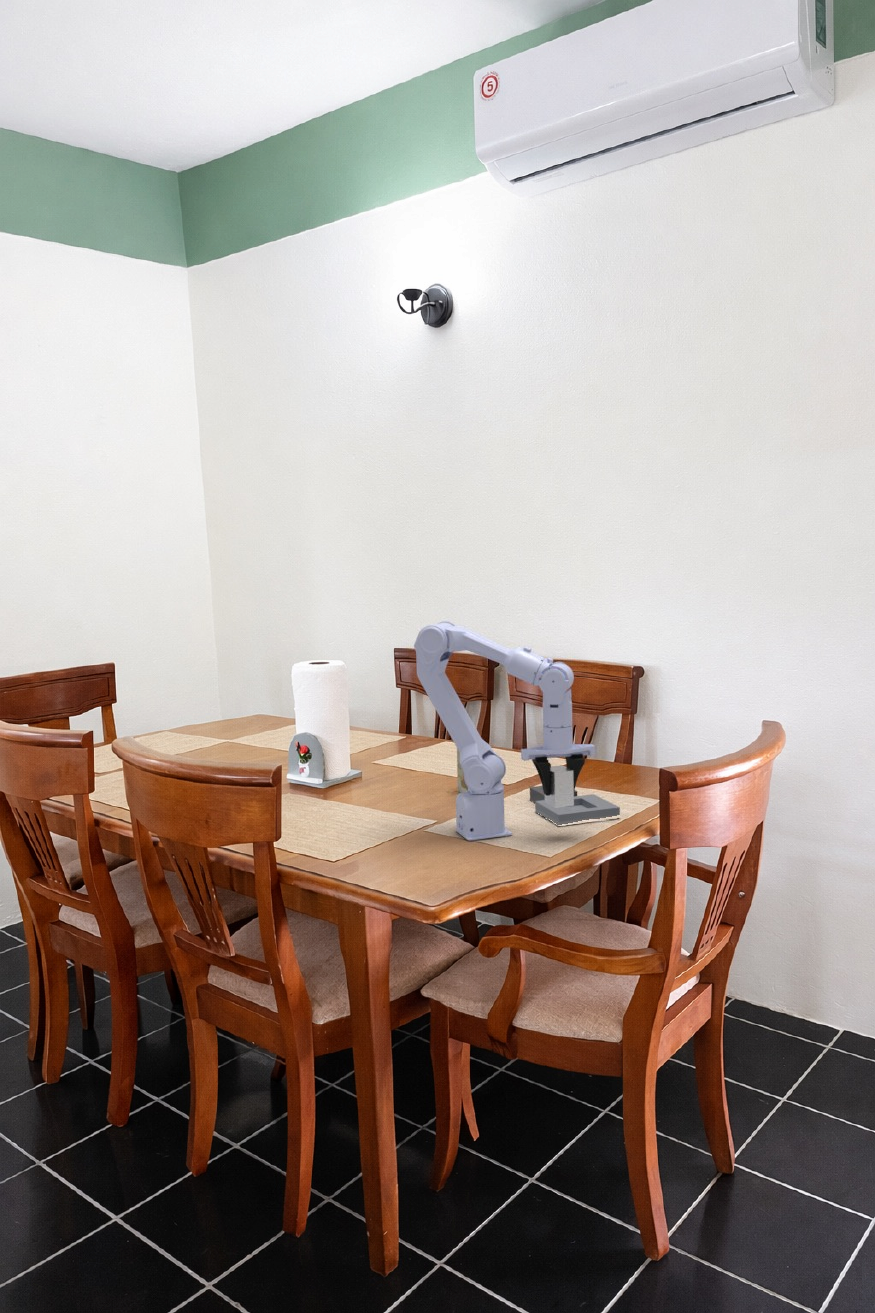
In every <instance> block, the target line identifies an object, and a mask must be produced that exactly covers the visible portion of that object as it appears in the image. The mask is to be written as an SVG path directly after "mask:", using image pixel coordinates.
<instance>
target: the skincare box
mask: <svg viewBox="0 0 875 1313" xmlns="http://www.w3.org/2000/svg"><path fill="white" fill-rule="evenodd" d="M456 763H457V764H456V766H457V767H456V770H457V772H456V774H457V777H456V778H457V792H459V793H464V792H466V791H468V786H467V785H466V783H465V780H464V771H463V769H462V767H461V765H460V752H459V750H458V749H457V748H456Z"/></svg>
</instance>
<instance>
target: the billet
mask: <svg viewBox="0 0 875 1313" xmlns="http://www.w3.org/2000/svg"><path fill="white" fill-rule="evenodd" d="M545 802H546V803H548V804H549V805H551V806H553V807H555V808H558V807H566V806H574V782H573V770H571V769H569V768H567V766H566V765H551V769H550V796H546V795H545Z"/></svg>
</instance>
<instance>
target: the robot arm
mask: <svg viewBox="0 0 875 1313" xmlns="http://www.w3.org/2000/svg"><path fill="white" fill-rule="evenodd" d="M413 647H414V650H415V653H416V654H415V655H416V656H415V657H416V659H415V660H416V676H417V678H418V680H419V682H420V684H421V686H422V687H423V689H424V691H425V692H426V695H427V696H428V698H429V700H430V702H431V704H432V705H433V707H434V709H435V711H436V712H437V714H438V716H439V718H440V720H441V721H442V723H443V725H444V727H445V729H446V730H447V732H448V734H449V736H450V738H451V739H452V741H453V743H454V744H455V747H456V750H457V749H458V750H459V752H460V765H461V767H462V769H463V771H464V780H465V783H466V785H467V786H468V791H466V792H464V793H461V792H459V793H457V795H456V798H455V820H456V822H455V823H456V828H455V832H457V833H459V835H460V836H462V837H463V838H464V839H466V840H467V841H470V842H471V841H475V840H476V841H477V840H485V839H491V838H501V837H507V836H512V835H513V832H512V831H510V830H509V829H508V828H506V827H505V821H506V820H505V795H504V794H505V791H504V788H505V787H504V784H503V783H502V780H503V779H504V778H505V775H506V771H507V765H506V763H505V761H504V759H503V758H502V757H501V756H500V755H499V754H497V753H496V752H495V750H494V749H492V746H491V745H490V744H489V743H488V742H486V741H485V740H484V739H483V738H482V737H481V735H480V733H479V731H478V730H477V728H476V726H475V724H474V722H473V721H472V719H471V717H470V715H469V714H468V712H467V710H466V708H465V706H464V704H463V703H462V701H461V699H460V697H459V696H458V694H457V692H456V691H455V688H454V687H453V684H452V683H451V681H450V679H449V677H448V676H447V673H446V669H447V666H448V663H449V660H450V657H451V656H452V654H453V653H455V652H456V653H457V652H463V651H464V652H465V651H467V652H471V653H473V654H476V655H478V656H481V657H483V658H486V659H488V660H491V661H494V662H496V663H499V664H501V665H502V666H504V669H505V670H506V672H507V674H508V675H511V676H513V677H515V678H516V679H520V681H521V680H522V681H524V682H525V683H528V684H530V685H533V686H535V687H537V686H539V689H540V691H541V692H542V737H543V738H542V741H543V742H542V745H541V746H536V747H529V748H521V749H520V758H521V760H522V761H524V762H525V761H528V762H529V761H530V760H531V761H532V763H533V766H534V767H535V769H536V771H537V773H538V776H539V779H540V781H541V786H543V791H544V794H545V795H546V796H550V769H551V766H552V763H550V762H549V759H552V758H553V759H555V758H565V764H566V765H565V766H566V767H567V768H569V769H571V770H573V782H574V791H575V790H576V785H577V781H578V778H579V776H580V773H581V771H582V769H583V767H584V765H585V762H586V758H585V757H584V756H590V757H591V756H592V757H593V756H595V755H596V746H595V744H592V743H586V744H585V743H584V744H583V743H582V744H581V743H579V744H576V743H575V744H573V743H574V742H573V741H574V740H573V738H574V737H573V702H572V689H571V687H572V686H573V684H574V681H575V679H574V678H575V675H574V672H573V669H572V668H571V667H570V666H569V665H567V664H566V663H565V662H563V661H556V662H554V659H553V658H552V657H549V656H548V657H547V658H546V657H543V656H541V655H539V654H536V653H534V652H532V647H531V648H530V647H529V646H524V647H520V646H518V647H515V648H513V649H510V648H508V647H505V646H504V645H502V644H500V643H497V642H495V641H493V640H491V639H489V638H487V637H485V636H483V635H481V634H480V633H477V632H475V631H473V630H472V629H471V630H470V629H469V628H467V627H465V626H462V625H458V624H457V625H456V624H454V623H453V622H450V621H445V620H444V621H441V622H438V623H435V624H428V625H425V626H424V627H423V628H421V629H420V631H418V634H417V636H416V639H415V642H414V644H413Z"/></svg>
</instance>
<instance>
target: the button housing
mask: <svg viewBox="0 0 875 1313" xmlns="http://www.w3.org/2000/svg"><path fill="white" fill-rule="evenodd" d="M574 796H578V790H576V789H575V791H574ZM541 800H545V794H544V791H543V786H542V785H537V786H529V801H531V802H532V801H533V803H534V802H535V801H541Z"/></svg>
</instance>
